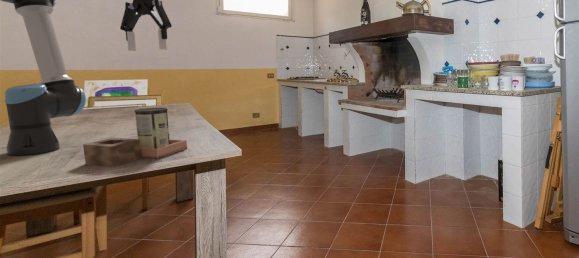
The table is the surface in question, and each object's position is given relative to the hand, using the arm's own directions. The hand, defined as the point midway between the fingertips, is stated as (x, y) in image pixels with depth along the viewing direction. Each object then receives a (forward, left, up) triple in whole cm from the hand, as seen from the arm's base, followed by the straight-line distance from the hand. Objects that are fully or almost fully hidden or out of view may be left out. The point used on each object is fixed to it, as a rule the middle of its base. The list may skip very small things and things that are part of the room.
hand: (147, 50), depth 120 cm
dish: (+6, -7, -35) cm, 36 cm away
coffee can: (+6, -7, -34) cm, 35 cm away
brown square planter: (+2, -20, -35) cm, 40 cm away
